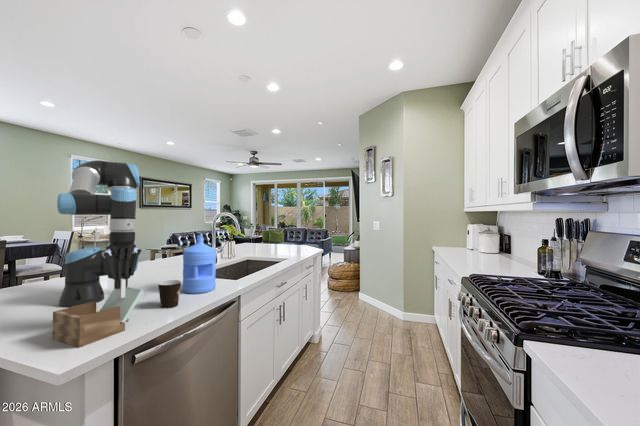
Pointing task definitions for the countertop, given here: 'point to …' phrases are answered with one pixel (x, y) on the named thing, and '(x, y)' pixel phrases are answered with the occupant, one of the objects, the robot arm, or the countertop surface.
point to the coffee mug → (169, 293)
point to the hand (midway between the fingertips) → (120, 297)
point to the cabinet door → (123, 302)
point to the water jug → (199, 268)
